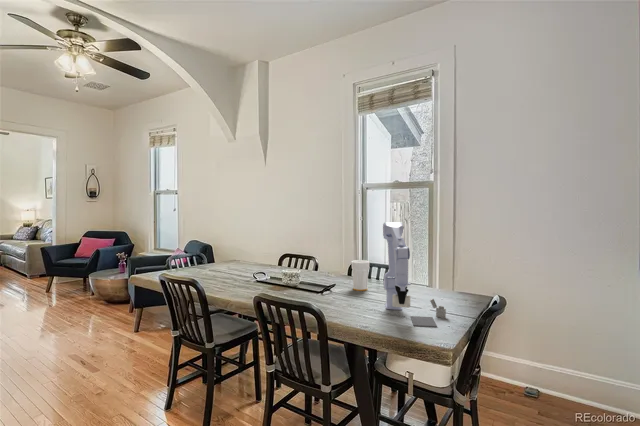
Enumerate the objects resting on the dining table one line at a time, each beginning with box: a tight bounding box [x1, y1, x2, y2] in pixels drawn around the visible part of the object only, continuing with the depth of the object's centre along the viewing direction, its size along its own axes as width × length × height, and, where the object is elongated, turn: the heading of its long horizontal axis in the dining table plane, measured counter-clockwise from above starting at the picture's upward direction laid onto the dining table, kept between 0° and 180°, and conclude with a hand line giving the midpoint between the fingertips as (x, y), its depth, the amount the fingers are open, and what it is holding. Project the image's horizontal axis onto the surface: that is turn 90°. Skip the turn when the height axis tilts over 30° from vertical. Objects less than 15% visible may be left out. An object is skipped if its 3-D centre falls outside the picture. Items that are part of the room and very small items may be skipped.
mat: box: [410, 315, 438, 328], centre depth 158 cm, size 12×10×1 cm
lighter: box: [429, 298, 447, 319], centre depth 165 cm, size 7×2×8 cm, turn 56°
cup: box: [350, 259, 371, 292], centre depth 216 cm, size 11×11×17 cm
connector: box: [392, 294, 411, 308], centre depth 159 cm, size 3×8×7 cm, turn 82°
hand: (401, 302), depth 159 cm, fingers closed on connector, 3 cm apart
